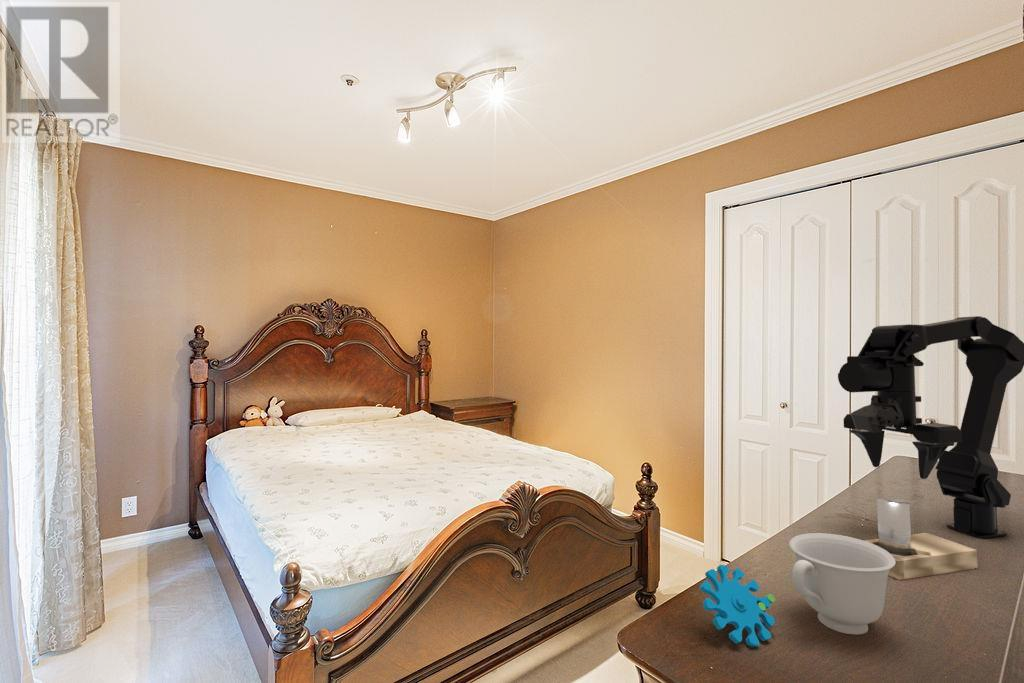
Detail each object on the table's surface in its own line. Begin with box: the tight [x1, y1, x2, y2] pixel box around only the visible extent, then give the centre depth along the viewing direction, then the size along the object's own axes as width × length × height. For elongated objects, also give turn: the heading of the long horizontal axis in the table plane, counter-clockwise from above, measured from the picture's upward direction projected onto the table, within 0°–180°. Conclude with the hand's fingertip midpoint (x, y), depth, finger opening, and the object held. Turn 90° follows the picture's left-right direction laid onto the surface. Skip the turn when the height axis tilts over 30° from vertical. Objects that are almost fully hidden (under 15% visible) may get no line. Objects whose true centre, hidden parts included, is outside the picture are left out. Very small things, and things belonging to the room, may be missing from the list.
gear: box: [699, 564, 776, 648], centre depth 66 cm, size 11×6×10 cm
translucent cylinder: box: [876, 496, 912, 557], centre depth 82 cm, size 4×4×11 cm
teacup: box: [788, 532, 896, 636], centre depth 66 cm, size 12×15×10 cm
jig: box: [863, 532, 979, 581], centre depth 83 cm, size 16×8×3 cm, turn 101°
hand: (898, 472), depth 92 cm, fingers open, 9 cm apart
